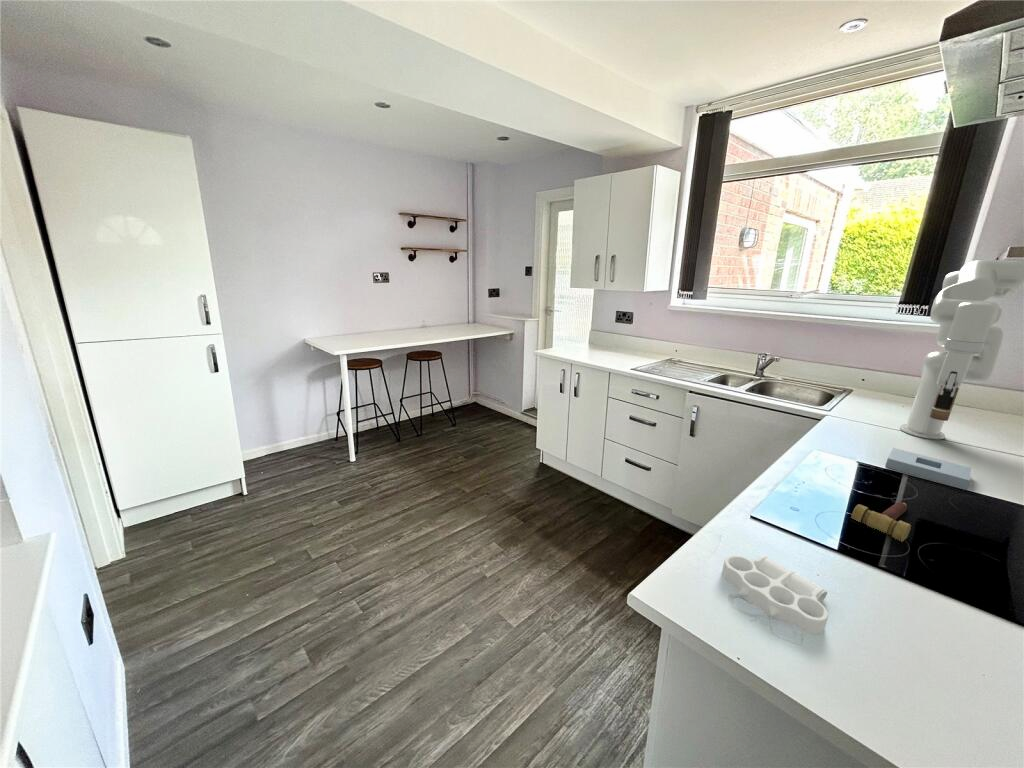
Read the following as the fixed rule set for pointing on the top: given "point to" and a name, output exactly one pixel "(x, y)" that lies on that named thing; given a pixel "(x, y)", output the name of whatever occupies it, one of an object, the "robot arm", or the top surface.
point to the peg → (942, 413)
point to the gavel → (884, 520)
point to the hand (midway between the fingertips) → (942, 406)
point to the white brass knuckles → (778, 591)
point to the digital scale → (929, 468)
